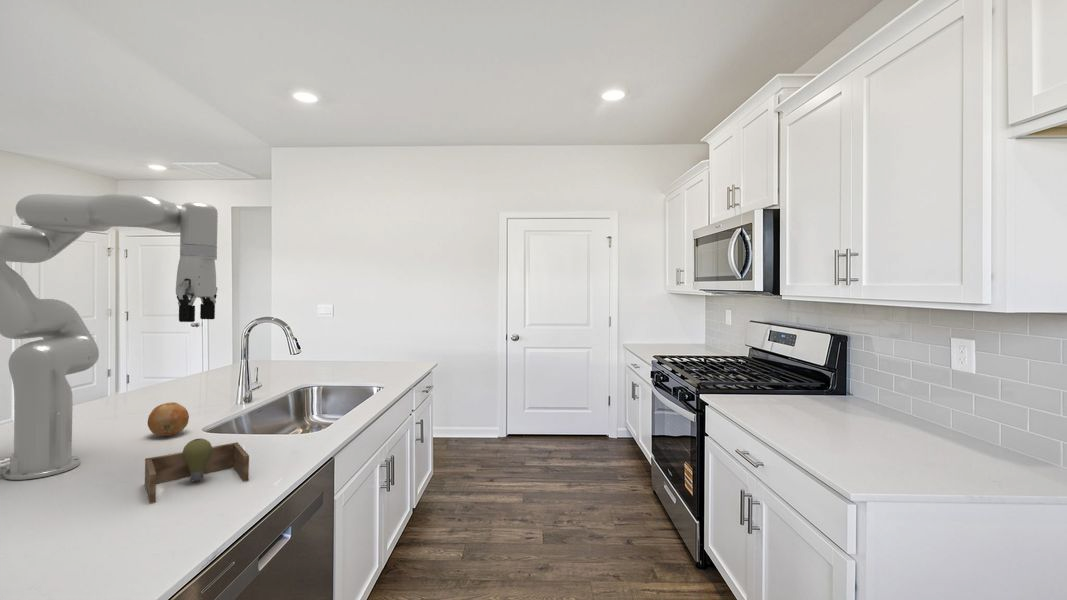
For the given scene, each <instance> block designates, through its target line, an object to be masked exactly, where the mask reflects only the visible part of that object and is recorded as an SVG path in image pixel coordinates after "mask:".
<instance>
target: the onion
mask: <svg viewBox="0 0 1067 600" xmlns="http://www.w3.org/2000/svg"><path fill="white" fill-rule="evenodd" d="M189 419H190V414H189V412H188V409H187V408H186V407H185V406H183V405H182V404H180V403H177V402H172V401H170V402H166V403H162V404H159V405H157V406H155V408H153V409H152V410H151V412H150V414H149V415H148V418H147V427H148V429H149V431H150V432H151V433H152V434H154V435H155V436H159V437H171V436H174V435H177V434H179V433H181V432H182V431H183V430H184V429H185V428H186V427H187V425H188V424H189Z"/></svg>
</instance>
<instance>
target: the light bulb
mask: <svg viewBox="0 0 1067 600" xmlns="http://www.w3.org/2000/svg"><path fill="white" fill-rule="evenodd" d="M212 447H213V446H212V444H211V442H210V441H209V440H207V439H205V438H201V437H200V438H195V439H192V440H190V441H189V442H188V443H186V444H185V446H184V447H183V449H182V452H183V458H184V460H185V462H186V463H187V465H188V468H189V471H190V472H191V476H190V480H191V481H193V482H194V483H195V482H196V483H197V482H199V481H201V480H202V479H203V478H204V474H203V471H204V468H205V466H206V463H207V460H208V459H209V457H210V455H211V452H212Z"/></svg>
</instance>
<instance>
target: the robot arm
mask: <svg viewBox="0 0 1067 600" xmlns="http://www.w3.org/2000/svg"><path fill="white" fill-rule="evenodd" d="M15 205H16V206H15V212H16V213H15V214H16V215H17V217H18V219H20V221H21V222H23V223H24V224H26V225H28V226H29V227H30V228H23V227H22V228H21V227H16V226H9V225H2V224H0V335H1V336H2V337H4V338H7V339H10V340H25V339H35V338H42V339H40V340H34V341H29V342H27V343H24V344H22V345H20V346H18V347H17V348H15V350H14V351H12V352H11V354H10V355H9V359H8V370H9V373H10V374H9V375H10V378H11V381H12V386H13V387H12V388H13V396H14V397H13V398H14V399H13V400H14V401H13V403H14V405H13V410H14V415H13V417H14V419H13V420H14V421H13V422H14V427H13V428H14V429H13V430H14V431H13V432H14V433H13V452H12V454H11V456H6V457H5V458H1V459H0V470H3V474H2V477H3V478H4V479H6V480H12V481H20V480H21V481H23V480H32V479H38V478H44V477H50V476H53V475H57V474H61V473H65V472H67V471H70V470H72V469H75V468H76V467H78V466H79V465H80V464H81V457H79V456H77V455H73V454H72V453H73V452H72V451H73V446H72V445H73V406H74V405H73V391H72V388H71V384H70V383H69V381H68V379H67V377H66V376H68V375H72V374H77V373H80V372H81V373H82V372H84V371H88V370H89V369H90V368H92V367H93V366H94V365H96V364H97V363H98V360H99V357H100V352H99V348H98V345H97V342H96V341H95V339H94V337H93V336H92V334H91V332H90V330H89V328H88V327H87V325H86V324H85V322H84V321H83V319H82V317H81V315H80V314H79V313H78V311H77V310H76V309H75V308H74V307H73V306H71V305H70V304H69V303H67V302H66V301H63V300H60V299H59V300H58V299H54V298H53V299H52V298H38V297H37V296H36V295H35V294H34V293H33V291H32V290H31V288H30V286H29V284H28V283H27V281H26V280H25V278H23V276H21V275H20V274H19V273H18V272H17V271H16V270H14V269H13V268H12V267H11V266H9V265H8V264H7V262H10V263H11V262H12V263H26V264H38V263H43V262H46V261H49V260H51V259H53V258H55V257H56V256H57V255H58V254H60V253H61V252H62V251H64V250H65V249H66V248H67V247H69V246H70V245H71V244H73V243H74V242H75V241H76V240H78V239H79V238H81V237H82V236H83V234H85V233H86V232H106V231H108V230H109V229H111V228H112V227H113V228H114V227H118V228H119V227H123V228H124V227H125V228H145V229H150V230H154V231H155V230H156V231H159V232H160V231H161V232H165V233H173V234H175V233H176V234H177V233H179V236H180V237H179V260H178V265H177V270H176V281H175V282H176V283H175V295H176V299H177V306H178V321H179V322H180V323H194V322H195V321H196V305H194V304H195V301H196V300H197V298H200V301H201V303H200V305H199V307H200V308H199V309H200V312H199V313H200V314H199V318H200V320H215V318H216V316H215V315H216V313H215V312H216V304H217V300H216V298H217V296H218V295H217V292H218V287H217V269H216V260H218V221H219V220H218V213H219V212H218V209H217V208H216V207H215V206H213V205H210V204H206V203H200V202H185V203H183V204H178V203H174V202H171V201H168V200H164V199H162V198H157V197H154V196H149V195H139V194H138V195H137V194H135V195H133V194H103V195H72V194H49V193H36V194H29V195H26V196H23V197H22V198H20V199H19V201H17V203H16V204H15Z"/></svg>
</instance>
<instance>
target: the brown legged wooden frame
mask: <svg viewBox="0 0 1067 600" xmlns="http://www.w3.org/2000/svg"><path fill="white" fill-rule="evenodd" d="M232 467H233V470H234V471H235V470H236V471H235V472H236V473H237V475H238V476H239V477H240V479H241V480H242V482H248V481H249V471H250V455H249V454H248V452H246V450H245V449H244V448H243V446H241V444H240V443H238V441H236V442H231V443H226V444H221V445H220V444H219V445H215V446H212V452H211V455H210V457H209V459H208V460H207V463H206V466H205V468H204V471H203V475H204V474H209V473H214V472H218V471H223V470H227V469H232ZM185 478H191V472H190V471H189V468H188V465H187V463H186V462H185V460H184V458H183V451H180V452H175V453H170V454H164V455H159V456H154V457H153V456H152V457H145V460H144V488H145V487H146V488H145V490H146V491H147V492H146V494H147V495H148V496H147V495H146V496H147V499H148V502H149V504H152V503H153V502H154V503H156V502H157V498H156V497H157V484H161V483H165V482H171V481H176V480H179V479H185ZM156 483H157V484H156Z"/></svg>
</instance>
